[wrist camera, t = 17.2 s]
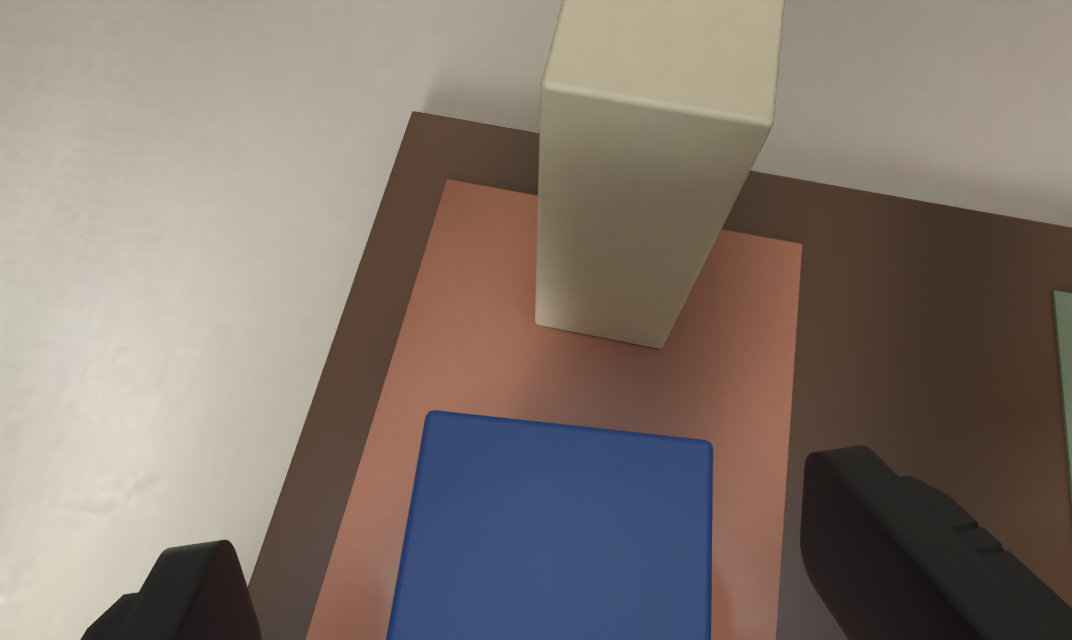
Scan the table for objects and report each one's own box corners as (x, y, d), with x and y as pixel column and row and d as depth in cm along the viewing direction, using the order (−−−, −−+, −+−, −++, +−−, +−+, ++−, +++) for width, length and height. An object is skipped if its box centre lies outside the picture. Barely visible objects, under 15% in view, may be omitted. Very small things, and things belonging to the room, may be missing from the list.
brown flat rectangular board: (1419, 303, 18) (1453, 291, 17) (1818, 1570, 10) (1909, 1636, 9) (415, 124, 19) (411, 107, 19) (90, 1076, 12) (64, 1103, 11)
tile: (690, 172, 18) (801, -135, 11) (664, 350, 16) (780, 125, 9) (571, 151, 18) (601, -164, 11) (532, 325, 16) (536, 84, 9)
